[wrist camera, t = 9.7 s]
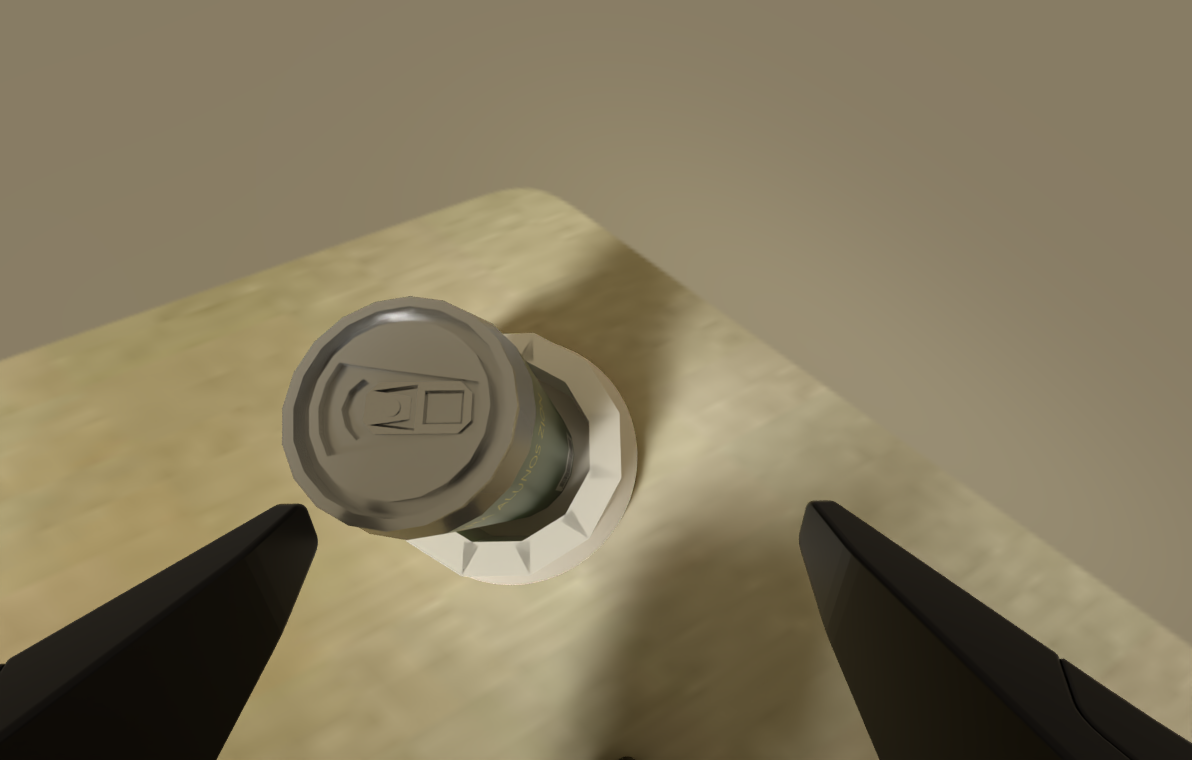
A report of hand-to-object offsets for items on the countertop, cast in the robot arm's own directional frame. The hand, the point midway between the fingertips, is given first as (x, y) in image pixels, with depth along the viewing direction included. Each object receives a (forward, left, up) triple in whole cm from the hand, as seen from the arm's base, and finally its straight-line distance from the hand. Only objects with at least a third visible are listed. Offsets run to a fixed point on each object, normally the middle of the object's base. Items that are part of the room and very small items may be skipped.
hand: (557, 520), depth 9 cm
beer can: (-2, +4, -13) cm, 13 cm away
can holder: (-2, +4, -14) cm, 14 cm away
